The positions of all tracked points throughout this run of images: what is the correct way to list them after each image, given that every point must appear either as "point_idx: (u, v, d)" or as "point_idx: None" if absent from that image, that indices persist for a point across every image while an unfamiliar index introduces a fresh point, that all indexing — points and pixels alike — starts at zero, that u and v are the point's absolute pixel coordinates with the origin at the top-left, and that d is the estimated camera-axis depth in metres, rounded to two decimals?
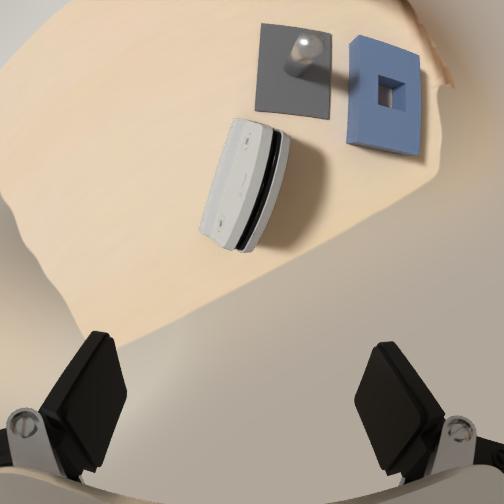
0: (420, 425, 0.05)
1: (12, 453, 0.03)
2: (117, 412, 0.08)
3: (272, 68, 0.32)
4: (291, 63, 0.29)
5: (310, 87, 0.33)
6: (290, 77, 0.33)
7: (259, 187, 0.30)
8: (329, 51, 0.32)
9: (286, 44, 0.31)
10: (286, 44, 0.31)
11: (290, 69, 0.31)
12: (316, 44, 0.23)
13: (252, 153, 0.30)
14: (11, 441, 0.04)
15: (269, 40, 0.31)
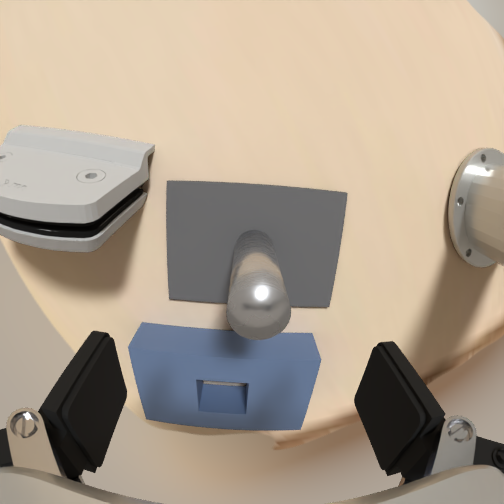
0: (420, 425, 0.05)
1: (12, 453, 0.03)
2: (117, 412, 0.08)
3: (249, 210, 0.22)
4: (241, 249, 0.18)
5: (218, 273, 0.23)
6: (233, 240, 0.22)
7: (5, 212, 0.13)
8: (293, 304, 0.24)
9: (302, 235, 0.22)
10: (301, 234, 0.22)
11: (238, 244, 0.20)
12: (250, 322, 0.13)
13: (52, 191, 0.14)
14: (11, 441, 0.04)
15: (310, 206, 0.22)
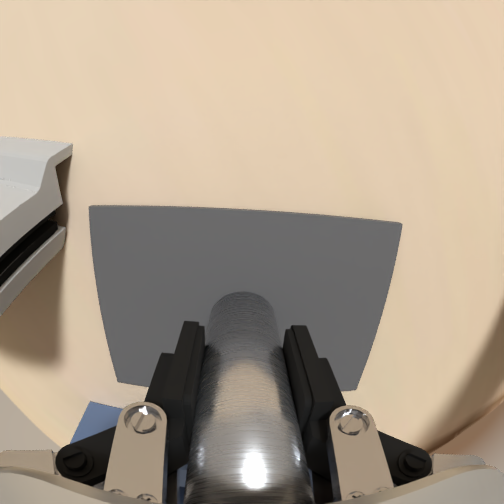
0: (307, 408, 0.07)
1: (114, 443, 0.05)
2: None
3: (232, 257, 0.12)
4: (214, 355, 0.09)
5: None
6: (206, 308, 0.13)
7: None
8: None
9: (325, 298, 0.13)
10: (324, 296, 0.13)
11: (212, 328, 0.10)
12: None
13: None
14: (118, 430, 0.05)
15: (341, 248, 0.12)
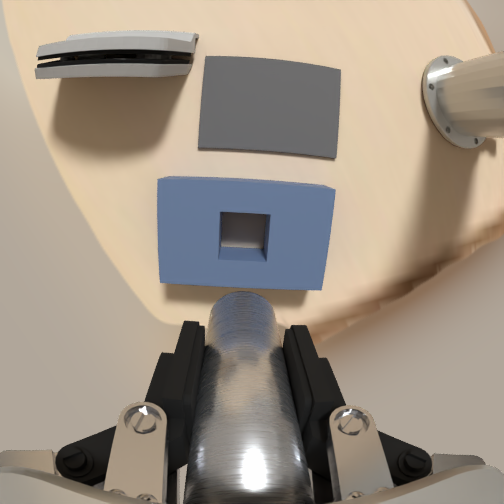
0: (307, 408, 0.07)
1: (114, 443, 0.05)
2: None
3: (268, 75, 0.25)
4: (214, 355, 0.09)
5: (242, 122, 0.26)
6: (256, 96, 0.25)
7: (86, 50, 0.16)
8: (305, 152, 0.27)
9: (309, 95, 0.25)
10: (308, 94, 0.25)
11: (212, 328, 0.10)
12: None
13: None
14: (118, 430, 0.05)
15: (313, 75, 0.25)
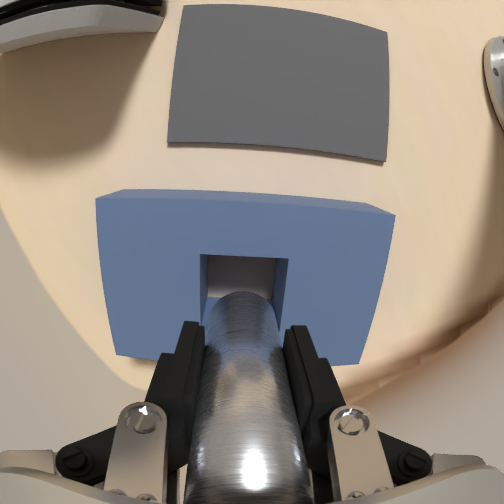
0: (307, 408, 0.07)
1: (114, 443, 0.05)
2: None
3: (281, 30, 0.14)
4: (214, 355, 0.09)
5: (240, 99, 0.15)
6: (261, 60, 0.15)
7: None
8: (341, 151, 0.16)
9: (345, 63, 0.15)
10: (344, 62, 0.15)
11: (212, 328, 0.10)
12: None
13: None
14: (118, 430, 0.05)
15: (349, 35, 0.14)
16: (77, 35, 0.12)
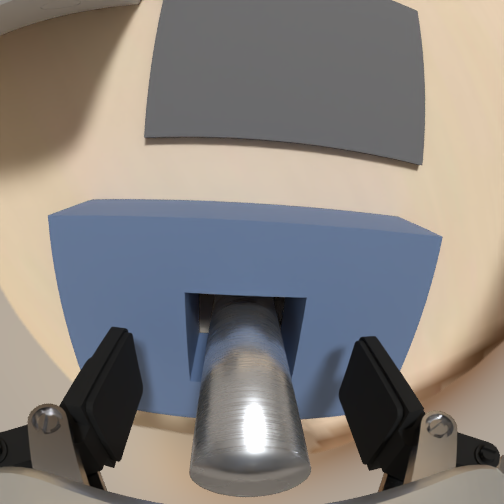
0: (398, 419, 0.06)
1: (31, 448, 0.04)
2: (135, 407, 0.08)
3: None
4: (220, 319, 0.11)
5: (240, 81, 0.11)
6: (268, 32, 0.10)
7: None
8: (370, 150, 0.12)
9: (372, 41, 0.10)
10: (371, 39, 0.10)
11: (218, 301, 0.12)
12: (235, 484, 0.05)
13: None
14: (31, 436, 0.04)
15: (376, 10, 0.10)
16: (45, 16, 0.08)
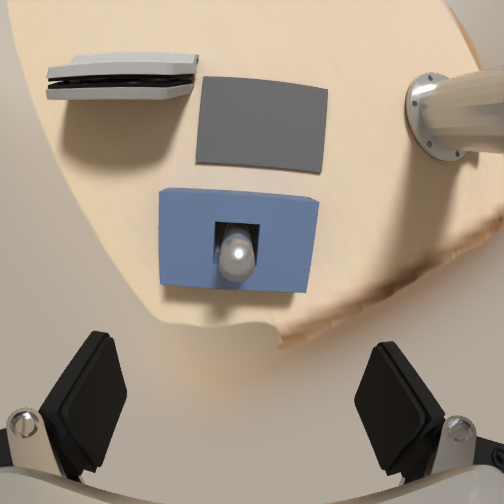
0: (420, 425, 0.05)
1: (12, 453, 0.03)
2: (117, 412, 0.08)
3: (260, 95, 0.28)
4: (227, 232, 0.29)
5: (236, 139, 0.29)
6: (249, 115, 0.29)
7: (97, 74, 0.19)
8: (293, 167, 0.30)
9: (297, 114, 0.29)
10: (297, 113, 0.29)
11: (226, 230, 0.30)
12: (232, 269, 0.23)
13: (138, 61, 0.20)
14: (11, 441, 0.04)
15: (302, 95, 0.28)
16: None
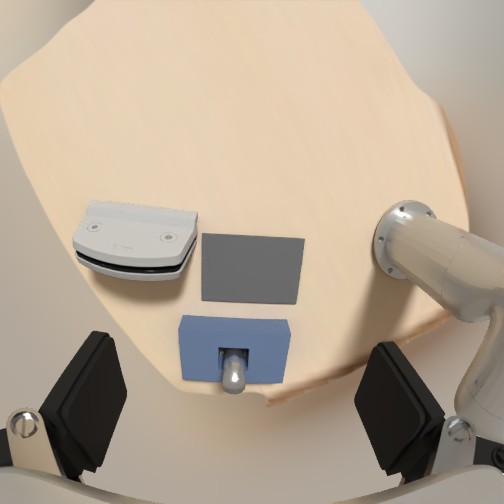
0: (420, 425, 0.05)
1: (12, 453, 0.03)
2: (117, 412, 0.08)
3: (248, 250, 0.39)
4: (227, 353, 0.40)
5: (231, 284, 0.41)
6: (240, 266, 0.40)
7: (121, 264, 0.31)
8: (274, 302, 0.42)
9: (278, 263, 0.40)
10: (278, 262, 0.40)
11: None
12: (231, 389, 0.35)
13: (151, 250, 0.32)
14: (11, 441, 0.04)
15: (282, 247, 0.39)
16: None
